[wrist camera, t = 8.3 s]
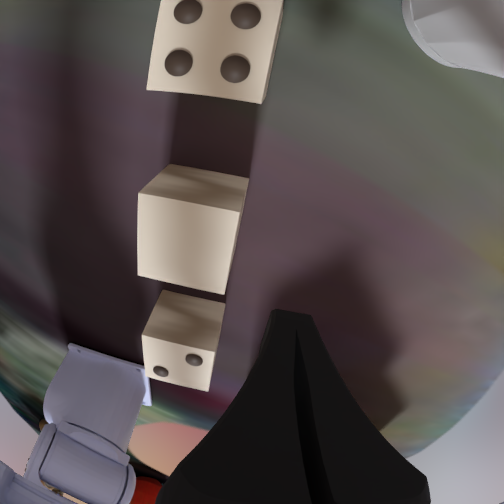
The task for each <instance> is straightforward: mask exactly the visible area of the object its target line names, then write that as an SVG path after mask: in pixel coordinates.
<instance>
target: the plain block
mask: <svg viewBox="0 0 504 504" xmlns="http://www.w3.org/2000/svg"><path fill="white" fill-rule="evenodd" d="M248 183H249V178H244V177H239V176H234V175H229V174H224V173H219V172H214V171H208V170H203V169H197V168H192V167H186V166H180V165H174V164H169V165H168V166H167V167H166V168H164V169H163V170H162V171H161V172H160V173H159V174H158V175H157V176H156V177H155V178H154V179H153V180H151V181H150V182H149V183H148V184H147V185H146V186H145V187H144V188H143V189H142V190H141V191H140V192H139V193H138V229H137V256H138V275H139V276H143V277H147V278H151V279H156V280H160V281H164V282H168V283H173V284H177V285H182V286H186V287H191V288H195V289H200V290H204V291H209V292H213V293H218V294H223V295H224V294H225V290H226V285H227V281H228V277H229V273H230V269H231V264H232V260H233V256H234V252H235V248H236V243H237V237H238V232H239V227H240V222H241V217H242V212H243V207H244V202H245V197H246V192H247V187H248Z"/></svg>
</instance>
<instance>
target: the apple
mask: <svg viewBox="0 0 504 504" xmlns="http://www.w3.org/2000/svg"><path fill="white" fill-rule="evenodd" d="M161 488H162V485H161V483H160V482H159V481H158V480H156V479H153V478H149V477H142V476H141V477H136V486H135V490H134V494H133V497H132V499H131V501H130V503H129V504H155V501H156V497H157V495H158V493H159V491H160V489H161Z"/></svg>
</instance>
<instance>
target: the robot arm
mask: <svg viewBox="0 0 504 504" xmlns="http://www.w3.org/2000/svg"><path fill="white" fill-rule="evenodd" d="M68 348H69V351H68V353H67V355H66V357H65V358H64V360H63V362H62V364H61V365H60V367H59V369H58V371H57V372H56V374H55V376H54V378H53V380H52V382H51V383H50V385H49V387H48V389H47V392H46V395H45V399H44V404H43V411H44V416H45V419H46V421H47V422H48V423H49V424H45V425H44V427H43V429H42V431H41V433H40V435H39V437H38V440H37V442H36V444H35V446H34V448H33V451H32V453H31V455H30V458H29V460H28V463H27V466H26V467H27V468H26V471H25V473H24V476H23V477H22V476H20V475H18V474H17V473H15V472H14V471H13V470H12V469H11V468H10V467H9V466H7V465H6V464H5V463H3V462H2V461H0V504H77V503H75V502H73V501H71V500H69V499H67V498H65V497H63V496H61V495H59V494H57V493H55V492H53V491H51V490H50V489H48V488H46V487H45V486H43V484H42V483H41V481H40V480H42V481H44V482H46V483H47V484H49V485H51V486H53V487H55V488H57V489H58V490H60V491H62V492H64V493H66V494H68V495H71V496H72V497H74V498H77V499H79V500H81V501H83V502H85V503H87V504H129V503H130V501H131V499H132V497H133V494H134V490H135V486H136V475H135V472H134V469H133V467H132V465H130V464H128V462H129V459H130V456H129V455H127V454H126V451H127V447H128V444H129V441H130V438H131V435H132V432H133V429H134V426H135V423H136V420H137V417H138V414H139V411H140V408H141V405H142V404H143V405H146V406H151V405H152V397H151V388H150V379H149V377H146V375H145V366H142V365H139V364H135V363H132V362H128V361H125V360H121V359H118V358H115V357H112V356H109V355H105V354H102V353H99V352H96V351H93V350H90V349H87V348H84V347H81V346H79V345H76V344H73V343H69V345H68ZM430 503H431V499H430V492H429V486H428V482H427V477H426V476H425V475H424V474H423V473H421V472H420V471H419V470H418V469H416V468H415V467H414V466H413V465H412V464H411V463H409V462H408V461H407V460H406V459H405V458H404V457H403V456H402V455H401V454H400V453H399V452H398V451H397V450H396V449H395V448H394V447H393V446H392V445H391V444H390V443H389V442H388V441H387V440H386V439H385V438H384V437H383V436H382V434H381V433H380V432H379V431H378V430H377V429H376V427H375V426H374V425H373V424H372V423H371V422H370V420H369V419H368V418H367V416H366V415H365V414H364V412H363V411H362V410H361V408H360V407H359V405H358V404H357V402H356V401H355V399H354V398H353V396H352V395H351V393H350V392H349V390H348V388H347V387H346V385H345V383H344V382H343V380H342V378H341V376H340V375H339V373H338V371H337V369H336V367H335V365H334V363H333V361H332V360H331V358H330V356H329V354H328V352H327V350H326V348H325V345H324V343H323V341H322V339H321V337H320V335H319V332H318V330H317V328H316V325H315V323H314V321H313V318H312V317H311V315H307V314H301V313H296V312H290V311H284V310H279V309H274V310H272V311H271V314H270V317H269V320H268V323H267V327H266V330H265V333H264V336H263V339H262V342H261V346H260V352H259V357H258V359H257V361H256V363H255V365H254V366H253V368H252V370H251V372H250V374H249V376H248V378H247V379H246V381H245V383H244V384H243V386H242V388H241V389H240V391H239V392H238V394H237V396H236V397H235V398H234V400H233V401H232V403H231V404H230V406H229V407H228V408H227V410H226V411H225V413H224V414H223V415H222V417H221V418H220V419H219V420H218V422H217V423H216V424H215V425H214V426H213V428H212V429H211V430H210V431H209V432H208V434H207V435H206V436H205V437H204V438H203V439H202V440H201V442H200V443H199V444H198V445H197V446H196V447H195V448H194V449H193V450H192V451H191V452H190V453H189V454H188V455H187V456H186V457H185V458H184V459H183V460H182V461H181V462H180V463H179V464H178V466H177V467H176V468H175V470H174V471H173V473H172V474H171V475H170V477H169V478H168V479H167V481H166V482H165V483H164V485H163V486H162V488H161V489H160V491H159V493H158V495H157V497H156V501H155V504H430ZM500 504H504V502H502V503H500Z"/></svg>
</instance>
